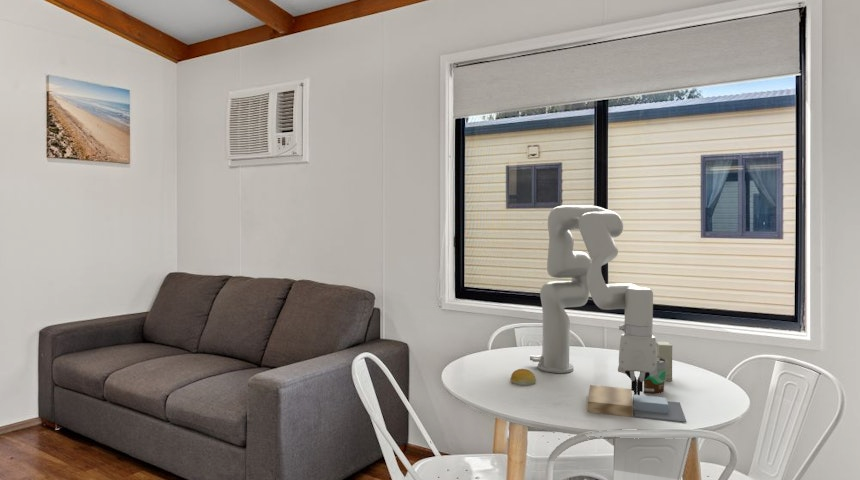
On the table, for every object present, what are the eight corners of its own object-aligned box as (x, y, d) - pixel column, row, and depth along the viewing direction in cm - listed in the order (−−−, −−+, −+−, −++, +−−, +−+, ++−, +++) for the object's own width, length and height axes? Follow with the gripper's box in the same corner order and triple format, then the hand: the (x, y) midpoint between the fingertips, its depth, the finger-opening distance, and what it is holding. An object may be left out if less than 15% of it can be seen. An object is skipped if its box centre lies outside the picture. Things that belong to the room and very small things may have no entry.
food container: (664, 397, 169) (664, 365, 169) (642, 394, 172) (643, 362, 172) (670, 387, 180) (671, 356, 179) (650, 384, 183) (651, 354, 182)
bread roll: (510, 385, 181) (510, 373, 181) (511, 377, 190) (511, 366, 190) (535, 387, 180) (536, 375, 179) (536, 379, 188) (536, 367, 188)
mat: (634, 417, 153) (634, 415, 153) (632, 398, 168) (632, 397, 168) (686, 422, 149) (686, 421, 149) (679, 403, 164) (679, 402, 164)
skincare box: (672, 381, 186) (673, 345, 185) (658, 380, 187) (659, 344, 186) (668, 376, 192) (669, 341, 191) (654, 375, 193) (655, 340, 192)
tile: (633, 409, 157) (633, 400, 157) (632, 402, 163) (633, 394, 163) (668, 413, 155) (668, 404, 155) (666, 406, 160) (666, 397, 160)
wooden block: (587, 411, 157) (587, 401, 157) (589, 394, 172) (590, 384, 172) (632, 416, 153) (632, 406, 153) (631, 398, 168) (631, 388, 168)
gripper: (610, 331, 158) (609, 394, 159) (667, 335, 153) (666, 400, 154) (610, 326, 165) (609, 387, 166) (665, 329, 160) (663, 392, 161)
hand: (636, 393), depth 160 cm, fingers closed
